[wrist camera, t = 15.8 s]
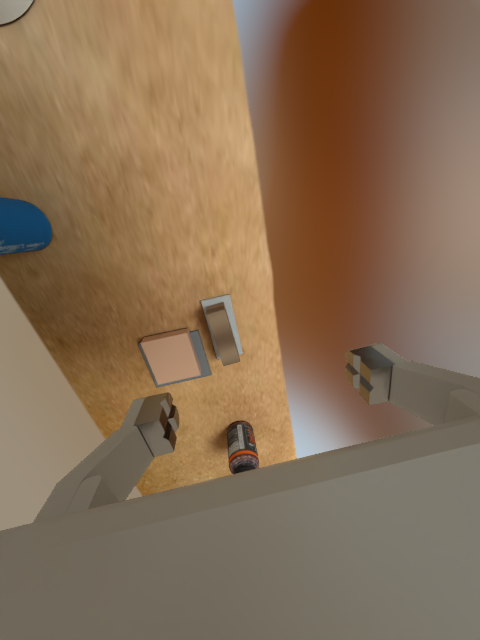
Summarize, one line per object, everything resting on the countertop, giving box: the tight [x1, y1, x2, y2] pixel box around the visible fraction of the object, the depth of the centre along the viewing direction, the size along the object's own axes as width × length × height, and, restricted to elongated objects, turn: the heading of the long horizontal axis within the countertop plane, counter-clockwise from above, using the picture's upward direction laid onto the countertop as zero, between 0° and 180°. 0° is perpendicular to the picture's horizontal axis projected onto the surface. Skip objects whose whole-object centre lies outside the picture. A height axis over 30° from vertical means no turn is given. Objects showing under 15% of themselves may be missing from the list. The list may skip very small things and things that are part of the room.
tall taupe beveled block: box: [206, 302, 240, 366], centre depth 38 cm, size 10×3×4 cm, turn 15°
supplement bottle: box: [227, 421, 259, 474], centre depth 46 cm, size 6×6×11 cm
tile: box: [141, 328, 201, 385], centre depth 40 cm, size 2×8×9 cm
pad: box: [201, 294, 243, 360], centre depth 40 cm, size 12×5×1 cm, turn 11°
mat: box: [138, 330, 211, 387], centre depth 42 cm, size 10×11×1 cm
